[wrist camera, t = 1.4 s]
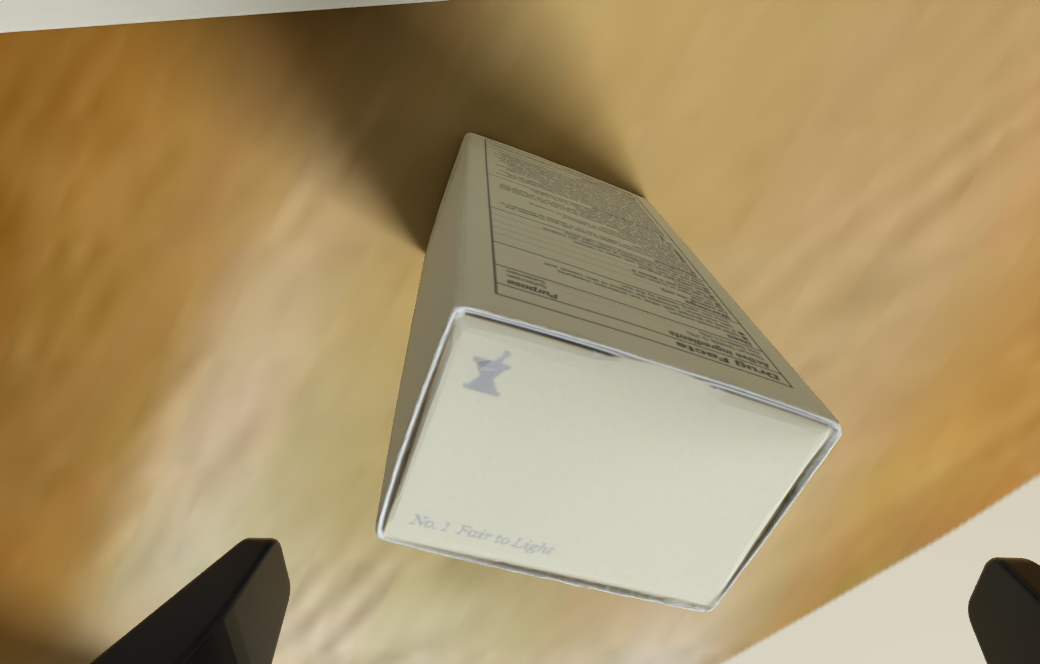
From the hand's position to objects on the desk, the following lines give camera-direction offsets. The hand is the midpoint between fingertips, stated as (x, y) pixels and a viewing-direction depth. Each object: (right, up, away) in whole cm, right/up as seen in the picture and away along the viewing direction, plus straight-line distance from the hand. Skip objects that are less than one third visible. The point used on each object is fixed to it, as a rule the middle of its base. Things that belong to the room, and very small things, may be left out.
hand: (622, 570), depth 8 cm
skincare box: (-1, +6, +12) cm, 14 cm away
